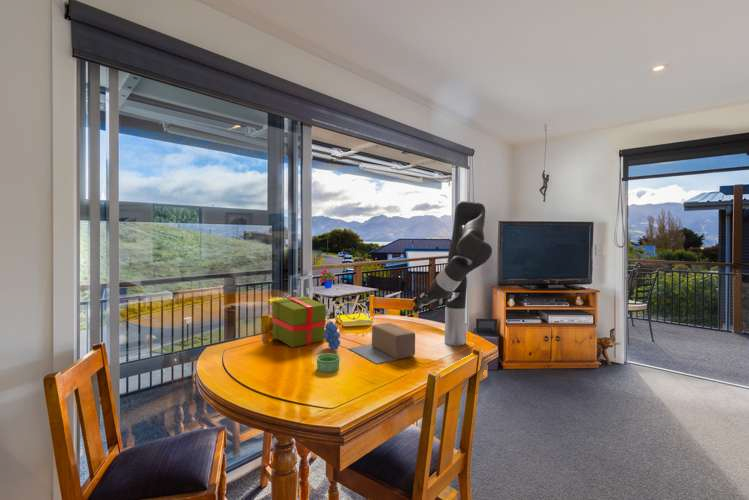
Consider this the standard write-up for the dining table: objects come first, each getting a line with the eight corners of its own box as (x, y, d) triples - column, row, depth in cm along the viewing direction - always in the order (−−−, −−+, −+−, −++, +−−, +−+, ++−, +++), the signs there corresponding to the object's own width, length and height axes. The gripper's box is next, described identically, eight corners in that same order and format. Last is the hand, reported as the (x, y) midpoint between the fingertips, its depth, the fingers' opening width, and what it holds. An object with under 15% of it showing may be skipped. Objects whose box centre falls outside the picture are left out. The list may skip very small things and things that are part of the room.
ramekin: (320, 374, 133) (320, 362, 133) (312, 366, 141) (313, 355, 141) (343, 370, 138) (343, 359, 137) (334, 363, 145) (335, 352, 145)
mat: (382, 342, 173) (382, 342, 173) (412, 356, 154) (412, 355, 154) (348, 349, 163) (348, 348, 163) (376, 364, 144) (376, 363, 144)
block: (416, 332, 153) (389, 322, 170) (396, 335, 148) (371, 324, 165) (415, 356, 154) (389, 343, 171) (395, 360, 148) (370, 346, 166)
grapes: (317, 347, 165) (317, 320, 164) (330, 344, 169) (330, 318, 168) (329, 354, 155) (330, 326, 155) (343, 351, 159) (344, 324, 159)
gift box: (323, 348, 174) (295, 333, 192) (332, 304, 175) (303, 294, 193) (285, 349, 160) (259, 333, 178) (295, 302, 160) (268, 290, 178)
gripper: (455, 272, 131) (433, 299, 141) (425, 274, 123) (403, 303, 133) (466, 289, 126) (442, 315, 136) (436, 292, 118) (412, 320, 129)
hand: (423, 309), depth 135 cm, fingers open, 8 cm apart
